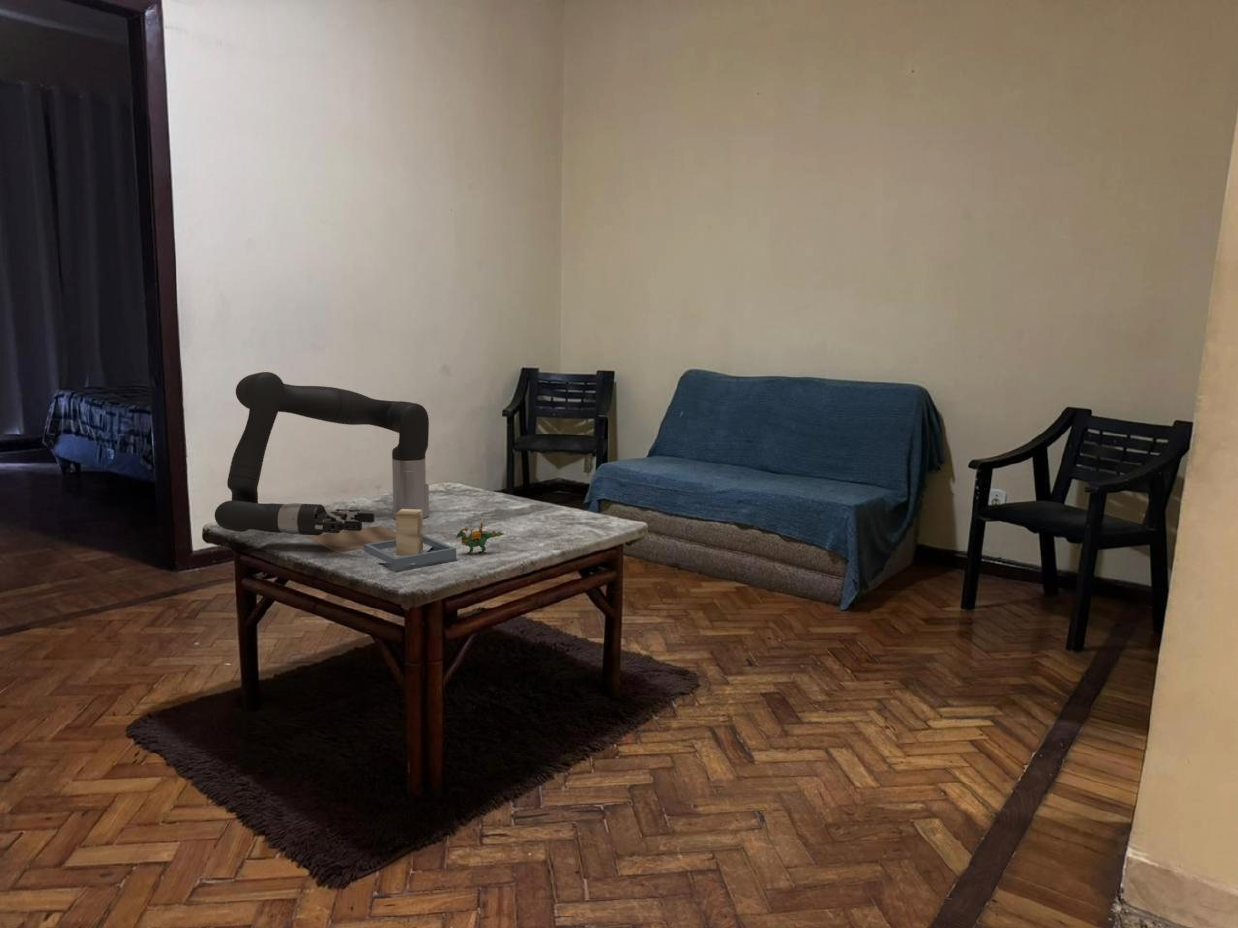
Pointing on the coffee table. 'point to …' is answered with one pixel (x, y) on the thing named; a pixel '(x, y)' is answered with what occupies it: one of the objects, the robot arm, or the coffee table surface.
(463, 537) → the figurine
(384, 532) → the walnut board
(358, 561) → the coffee table surface
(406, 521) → the maple block
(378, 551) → the box
